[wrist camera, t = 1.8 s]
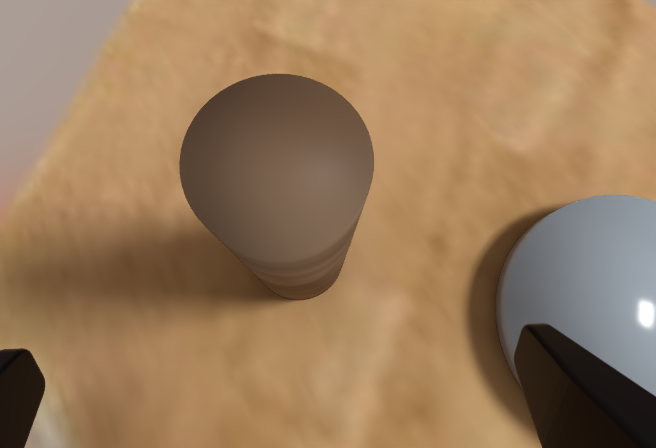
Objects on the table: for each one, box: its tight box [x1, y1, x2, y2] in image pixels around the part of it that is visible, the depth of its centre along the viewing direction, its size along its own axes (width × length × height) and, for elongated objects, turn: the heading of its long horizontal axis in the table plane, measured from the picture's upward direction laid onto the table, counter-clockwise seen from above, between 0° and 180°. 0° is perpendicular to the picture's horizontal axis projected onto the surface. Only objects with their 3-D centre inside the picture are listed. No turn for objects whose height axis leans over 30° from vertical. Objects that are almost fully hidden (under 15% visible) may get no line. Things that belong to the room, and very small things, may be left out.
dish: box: [495, 195, 656, 396], centre depth 18 cm, size 11×11×1 cm
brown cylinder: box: [180, 74, 374, 300], centre depth 14 cm, size 4×4×11 cm
